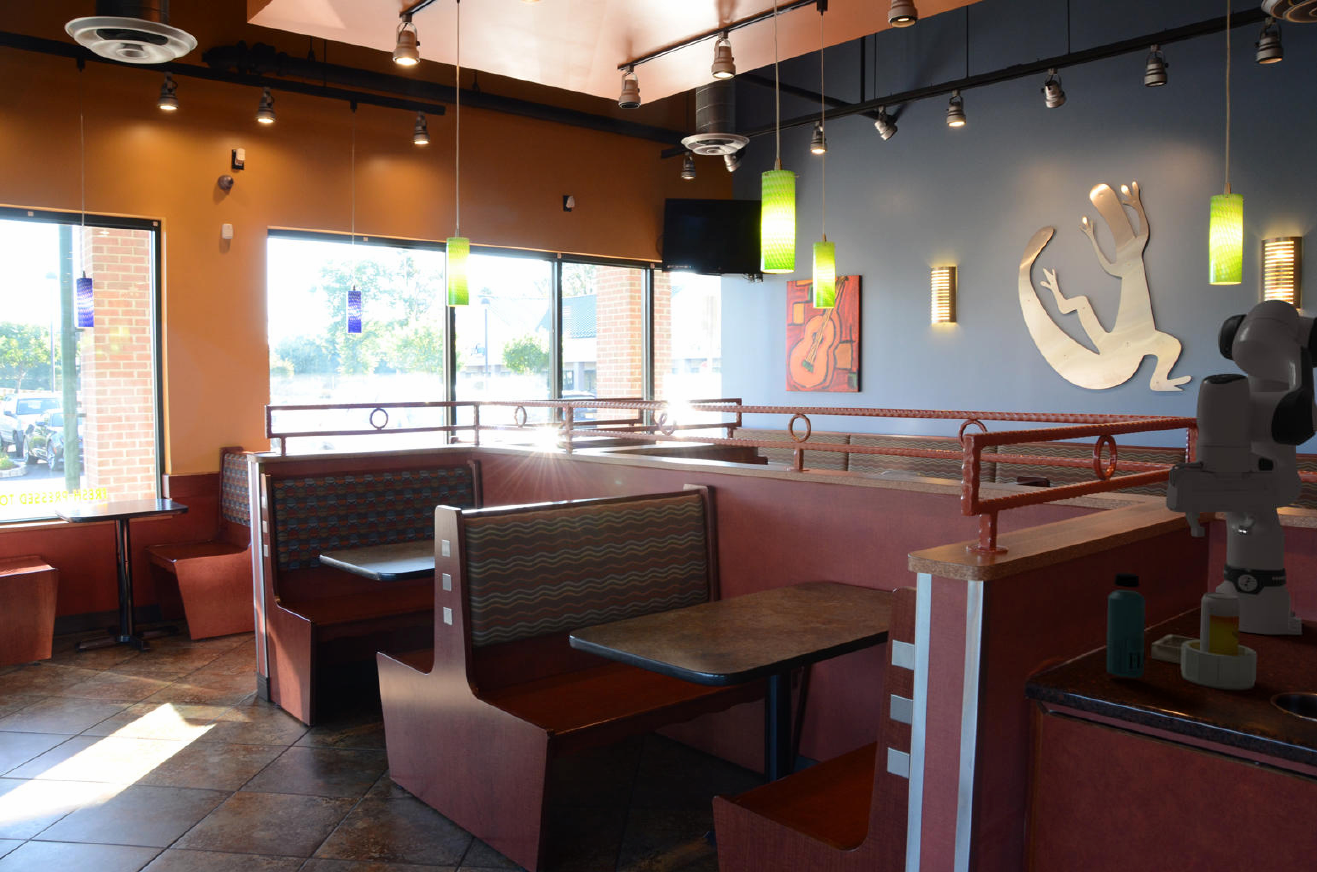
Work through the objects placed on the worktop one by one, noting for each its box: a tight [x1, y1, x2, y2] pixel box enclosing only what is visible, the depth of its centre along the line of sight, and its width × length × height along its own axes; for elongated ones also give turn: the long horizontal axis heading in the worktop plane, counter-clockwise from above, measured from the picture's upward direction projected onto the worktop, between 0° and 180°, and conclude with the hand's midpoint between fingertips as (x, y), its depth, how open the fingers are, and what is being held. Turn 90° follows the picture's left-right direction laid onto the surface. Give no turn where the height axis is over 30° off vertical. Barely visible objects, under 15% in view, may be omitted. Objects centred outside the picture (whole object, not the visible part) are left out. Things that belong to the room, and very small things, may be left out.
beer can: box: [1199, 591, 1240, 656], centre depth 173 cm, size 6×6×15 cm
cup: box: [1180, 640, 1258, 691], centre depth 173 cm, size 12×12×6 cm
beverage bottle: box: [1105, 572, 1146, 678], centre depth 172 cm, size 6×7×20 cm
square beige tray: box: [1150, 633, 1200, 665], centre depth 187 cm, size 11×11×4 cm
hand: (1221, 535), depth 173 cm, fingers open, 8 cm apart
